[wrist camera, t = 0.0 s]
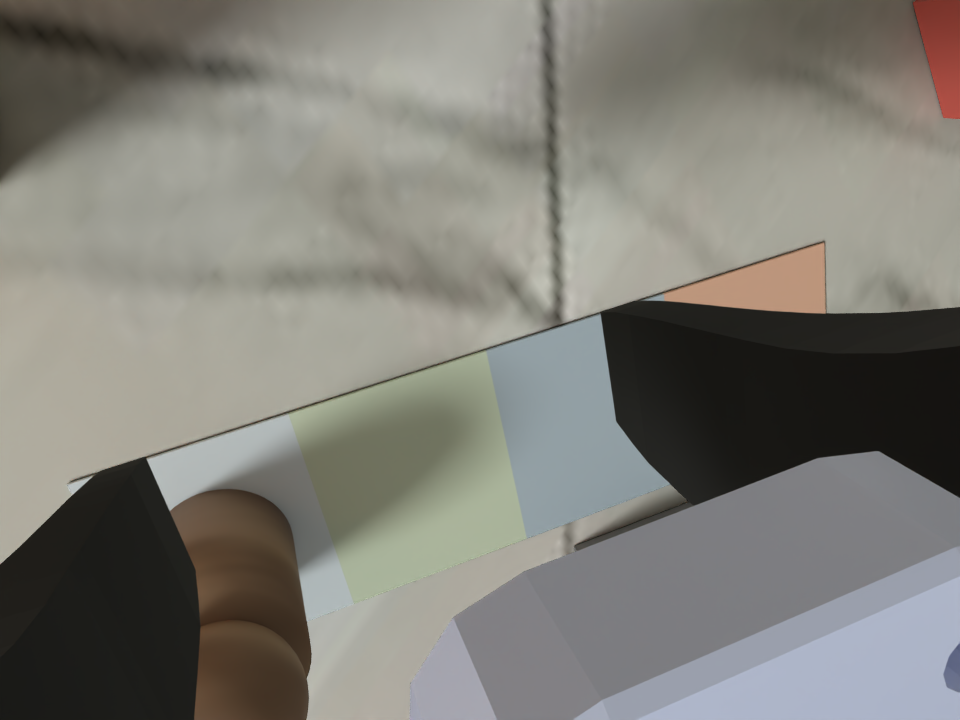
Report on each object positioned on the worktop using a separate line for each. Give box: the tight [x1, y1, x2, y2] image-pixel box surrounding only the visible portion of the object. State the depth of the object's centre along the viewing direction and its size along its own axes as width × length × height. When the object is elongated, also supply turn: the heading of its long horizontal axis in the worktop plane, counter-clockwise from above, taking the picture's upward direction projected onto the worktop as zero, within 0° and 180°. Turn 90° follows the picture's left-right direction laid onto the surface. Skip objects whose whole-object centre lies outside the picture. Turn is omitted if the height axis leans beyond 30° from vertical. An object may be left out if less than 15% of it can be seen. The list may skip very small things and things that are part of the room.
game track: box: [67, 242, 826, 621], centre depth 24 cm, size 7×24×1 cm, turn 102°
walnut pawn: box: [170, 489, 312, 720], centre depth 19 cm, size 4×4×8 cm
